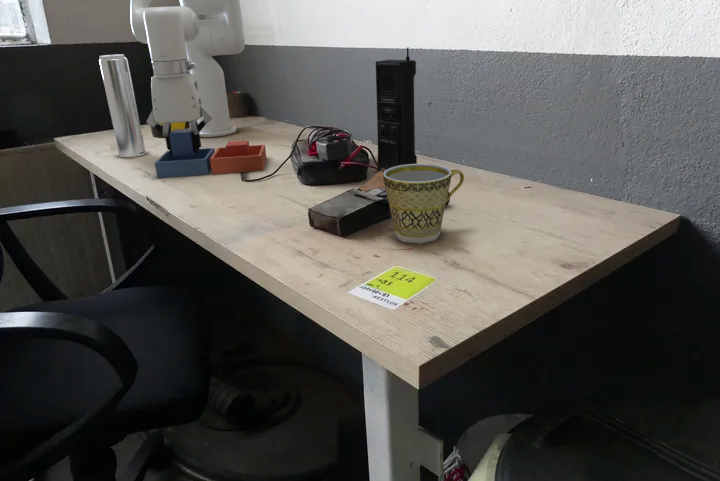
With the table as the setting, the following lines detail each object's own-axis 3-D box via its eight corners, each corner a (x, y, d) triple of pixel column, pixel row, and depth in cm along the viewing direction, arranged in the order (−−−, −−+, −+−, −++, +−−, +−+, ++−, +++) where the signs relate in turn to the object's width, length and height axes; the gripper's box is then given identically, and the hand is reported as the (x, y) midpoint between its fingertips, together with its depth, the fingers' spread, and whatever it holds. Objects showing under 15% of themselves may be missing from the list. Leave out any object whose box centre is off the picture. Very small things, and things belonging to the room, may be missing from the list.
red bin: (219, 161, 137) (217, 147, 136) (266, 158, 138) (264, 144, 136) (212, 174, 127) (209, 158, 125) (262, 170, 127) (260, 155, 126)
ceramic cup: (404, 253, 81) (402, 186, 77) (374, 231, 90) (371, 169, 86) (480, 236, 86) (482, 171, 82) (445, 216, 94) (446, 157, 90)
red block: (231, 162, 134) (228, 141, 132) (251, 161, 134) (248, 140, 132) (228, 167, 130) (225, 145, 128) (249, 166, 130) (246, 144, 128)
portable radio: (372, 171, 122) (366, 49, 113) (390, 165, 126) (386, 46, 117) (400, 176, 117) (397, 49, 108) (418, 170, 121) (416, 46, 112)
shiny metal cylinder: (124, 158, 145) (103, 56, 135) (115, 155, 150) (94, 55, 140) (149, 154, 149) (130, 53, 139) (140, 150, 153) (120, 53, 144)
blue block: (177, 151, 132) (173, 129, 130) (197, 149, 132) (193, 128, 130) (172, 155, 128) (168, 133, 126) (193, 154, 128) (189, 132, 126)
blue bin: (169, 165, 136) (166, 150, 135) (216, 162, 137) (214, 147, 136) (157, 177, 126) (154, 162, 125) (208, 174, 127) (206, 159, 125)
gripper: (213, 65, 127) (224, 145, 134) (136, 69, 126) (152, 150, 133) (207, 68, 120) (220, 153, 127) (126, 73, 119) (143, 158, 126)
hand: (185, 151), depth 130 cm, fingers closed on blue block, 4 cm apart
